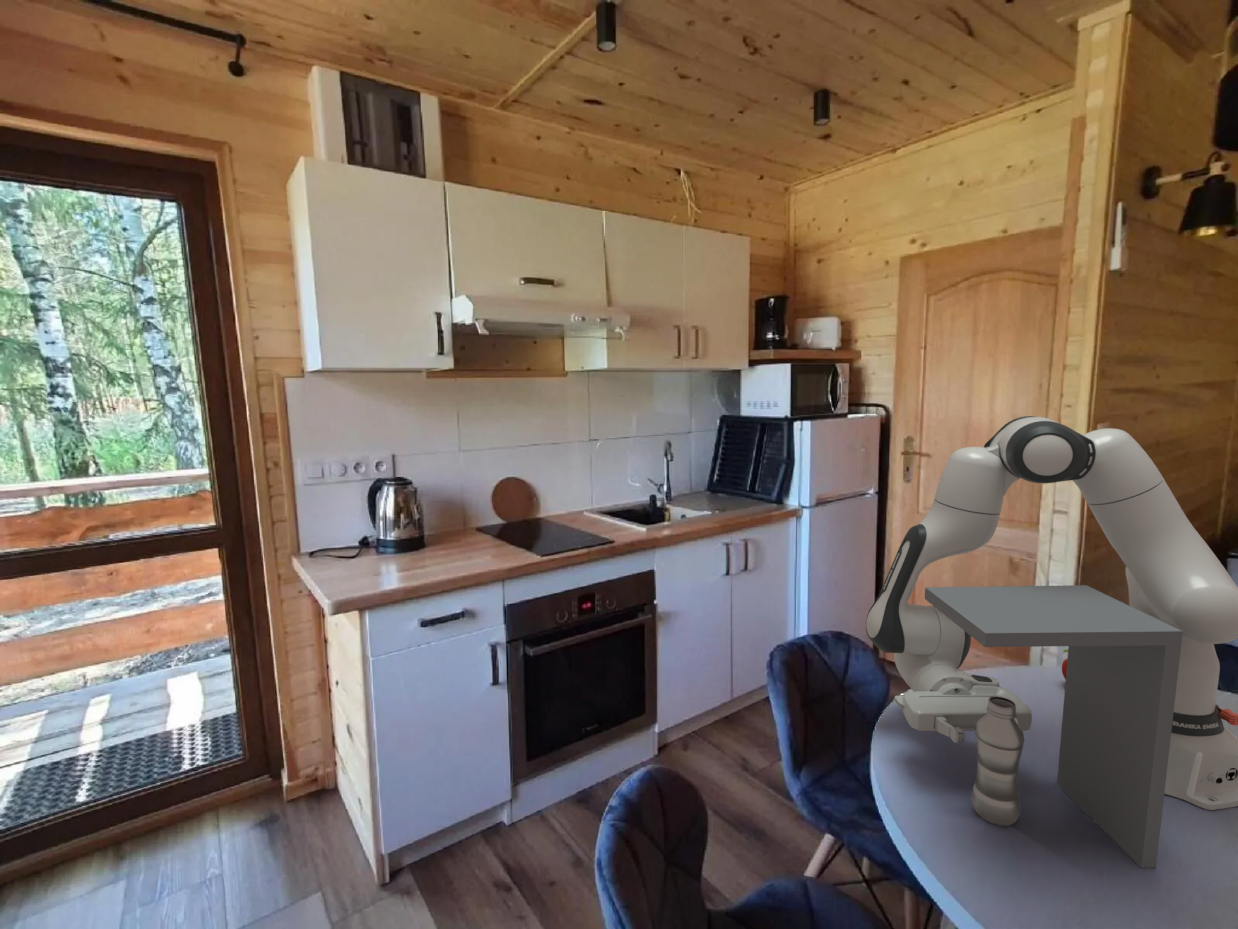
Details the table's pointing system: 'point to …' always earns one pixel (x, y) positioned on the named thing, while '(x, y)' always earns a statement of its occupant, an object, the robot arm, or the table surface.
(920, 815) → the table surface
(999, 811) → the plastic bottle
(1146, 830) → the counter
